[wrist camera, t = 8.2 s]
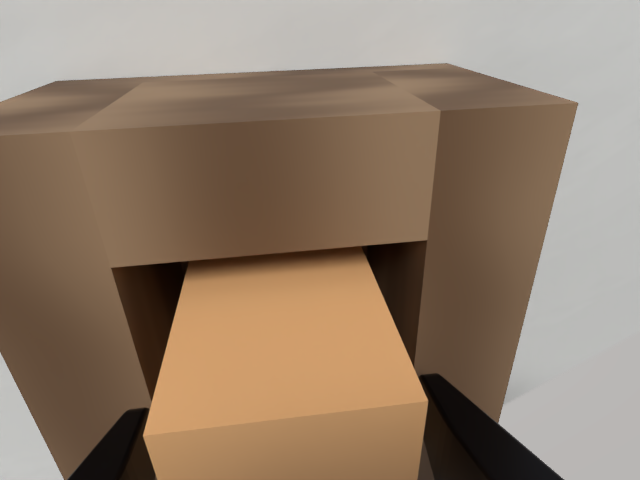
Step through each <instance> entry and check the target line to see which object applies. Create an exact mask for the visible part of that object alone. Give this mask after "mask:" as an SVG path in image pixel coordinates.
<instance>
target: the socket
mask: <svg viewBox="0 0 640 480" xmlns="http://www.w3.org/2000/svg"><path fill="white" fill-rule="evenodd" d="M577 106H578V103H577V102H574V101H570V100H567V99H564V98H560V97H557V96H554V95H550V94H547V93H544V92H540V91H537V90H534V89H530V88H527V87H524V86H520V85H517V84H514V83H511V82H507V81H504V80H501V79H497V78H494V77H491V76H487V75H484V74H481V73H477V72H474V71H471V70H467V69H464V68H461V67H457V66H454V65H451V64H447V63H445V64H423V65H401V66H379V67H357V68H335V69H313V70H291V71H269V72H247V73H225V74H203V75H181V76H159V77H137V78H115V79H93V80H71V81H55V82H53V83H50V84H47V85H45V86H42V87H39V88H37V89H34V90H31V91H29V92H26V93H23V94H21V95H18V96H15V97H13V98H10V99H7V100H5V101H2V102H0V352H1V354H2V356H3V358H4V360H5V362H6V364H7V366H8V368H9V370H10V372H11V374H12V376H13V378H14V380H15V382H16V384H17V386H18V388H19V390H20V392H21V394H22V396H23V398H24V400H25V402H26V404H27V406H28V408H29V410H30V412H31V414H32V416H33V418H34V420H35V422H36V424H37V426H38V428H39V430H40V432H41V434H42V436H43V438H44V440H45V442H46V444H47V446H48V448H49V450H50V452H51V454H52V456H53V458H54V460H55V462H56V464H57V466H58V468H59V470H60V472H61V474H62V476H63V478H64V480H67V479H68V478H69V477H70V475H71V474H72V473H73V472H74V471H75V470H76V468H77V467H78V466H79V465H80V464H81V463H82V461H83V460H84V459H85V458H86V457H87V456H88V454H89V453H90V452H91V451H92V450H93V448H94V447H95V446H96V445H97V444H98V443H99V441H100V440H101V439H102V438H103V437H104V436H105V434H106V433H107V432H108V431H109V430H110V429H111V427H112V426H113V425H114V424H115V423H116V421H117V420H118V419H119V418H120V417H121V416H122V414H123V413H124V412H126V411H127V410H129V409H136V408H144V407H146V408H149V409H150V407H151V403H152V400H153V396H154V392H155V388H156V384H157V381H158V377H159V373H160V369H161V365H162V362H163V358H164V354H165V350H166V347H167V343H168V339H169V335H170V331H171V328H172V324H173V320H174V316H175V312H176V309H177V305H178V301H179V297H180V293H181V290H182V286H183V282H184V278H185V274H186V271H187V267H188V263H189V261H194V260H205V259H217V258H228V257H240V256H251V255H263V254H274V253H286V252H297V251H309V250H320V249H331V248H343V247H354V246H361V247H362V249H363V252H364V254H365V256H366V259H367V261H368V263H369V265H370V268H371V270H372V272H373V275H374V277H375V279H376V282H377V284H378V286H379V289H380V291H381V293H382V295H383V298H384V300H385V302H386V305H387V307H388V309H389V312H390V314H391V316H392V318H393V321H394V323H395V325H396V328H397V330H398V332H399V335H400V337H401V339H402V342H403V344H404V346H405V348H406V351H407V353H408V355H409V358H410V360H411V362H412V365H413V367H414V369H415V372H416V374H417V376H418V377H419V376H420V375H423V374H432V373H438V374H440V375H441V376H443V377H444V378H445V379H446V380H447V381H448V382H450V383H451V384H452V385H453V386H454V387H456V388H457V389H458V390H459V391H460V392H461V393H463V394H464V395H465V396H466V397H467V398H468V399H470V400H471V401H472V402H473V403H474V404H476V405H477V406H478V407H479V408H480V409H481V410H483V411H484V412H485V413H486V414H487V415H488V416H490V417H491V418H492V419H493V420H494V421H496V422H497V423H498V422H499V418H500V414H501V410H502V406H503V402H504V398H505V394H506V390H507V386H508V382H509V378H510V374H511V370H512V366H513V362H514V358H515V354H516V350H517V346H518V342H519V338H520V334H521V330H522V326H523V322H524V318H525V314H526V310H527V306H528V302H529V298H530V294H531V290H532V286H533V282H534V278H535V274H536V270H537V266H538V262H539V258H540V254H541V250H542V246H543V242H544V238H545V234H546V230H547V226H548V222H549V218H550V214H551V210H552V206H553V202H554V198H555V194H556V190H557V186H558V182H559V178H560V174H561V170H562V166H563V162H564V158H565V154H566V150H567V146H568V142H569V138H570V134H571V130H572V126H573V122H574V118H575V114H576V110H577ZM155 480H157V477H156V475H155ZM417 480H435V479H434V476H433V472H432V469H431V465H430V462H429V458H428V454H427V451H426V447H425V443H424V440H423V443H422V450H421V457H420V464H419V471H418V479H417Z"/></svg>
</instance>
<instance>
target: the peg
mask: <svg viewBox="0 0 640 480" xmlns="http://www.w3.org/2000/svg"><path fill="white" fill-rule="evenodd" d="M427 407H428V399H427V397H426V395H425V392H424V390H423V388H422V385H421V383H420V381H419V378H418V376H417V374H416V372H415V369H414V367H413V365H412V362H411V360H410V358H409V355H408V353H407V351H406V348H405V346H404V344H403V342H402V339H401V337H400V335H399V332H398V330H397V328H396V325H395V323H394V321H393V318H392V316H391V314H390V312H389V309H388V307H387V305H386V302H385V300H384V298H383V295H382V293H381V291H380V289H379V286H378V284H377V282H376V279H375V277H374V275H373V272H372V270H371V268H370V265H369V263H368V261H367V259H366V256H365V254H364V252H363V249H362V247H361V246H354V247H343V248H331V249H320V250H309V251H297V252H286V253H274V254H263V255H251V256H240V257H228V258H217V259H205V260H194V261H189V263H188V267H187V271H186V274H185V278H184V282H183V286H182V290H181V293H180V297H179V301H178V305H177V309H176V312H175V316H174V320H173V324H172V328H171V331H170V335H169V339H168V343H167V347H166V350H165V354H164V358H163V362H162V365H161V369H160V373H159V377H158V381H157V384H156V388H155V392H154V396H153V400H152V403H151V407H150V411H149V415H148V419H147V422H146V426H145V430H144V434H143V438H144V441H145V444H146V447H147V450H148V453H149V456H150V459H151V462H152V465H153V468H154V471H155V474H156V477H157V480H417V479H418V471H419V464H420V457H421V450H422V443H423V435H424V428H425V421H426V414H427Z"/></svg>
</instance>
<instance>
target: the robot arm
mask: <svg viewBox="0 0 640 480" xmlns="http://www.w3.org/2000/svg"><path fill="white" fill-rule="evenodd" d="M418 378H419V381H420V383H421V385H422V388H423V390H424V392H425V395H426V397H427V399H428V407H427V414H426V421H425V428H424V435H423V440H424V443H425V447H426V451H427V454H428V458H429V462H430V465H431V469H432V472H433V476H434V479H435V480H564V479H563V478H561V477H560V476H559V475H558V474H557V473H555V472H554V471H553V470H552V469H551V468H550V467H548V466H547V465H546V464H545V463H544V462H543V461H541V460H540V459H539V458H538V457H537V456H535V455H534V454H533V453H532V452H531V451H529V450H528V449H527V448H526V447H525V446H524V445H523V444H521V443H520V442H519V441H518V440H517V439H515V438H514V437H513V436H512V435H511V434H510V433H508V432H507V431H506V430H505V429H504V428H503V427H501V426H500V425H499V424H498V423H497V422H496V421H494V420H493V419H492V418H491V417H490V416H488V415H487V414H486V413H485V412H484V411H483V410H481V409H480V408H479V407H478V406H477V405H476V404H474V403H473V402H472V401H471V400H470V399H468V398H467V397H466V396H465V395H464V394H463V393H461V392H460V391H459V390H458V389H457V388H456V387H454V386H453V385H452V384H451V383H450V382H448V381H447V380H446V379H445V378H444V377H443V376H441V375H440V374H438V373H432V374H423V375H420V376H419V377H418ZM149 411H150V409H149V408H146V407H144V408H136V409H129V410H127V411H126V412H124V413H123V414H122V416H121V417H120V418H119V419H118V420H117V421H116V423H115V424H114V425H113V426H112V427H111V429H110V430H109V431H108V432H107V433H106V434H105V436H104V437H103V438H102V439H101V440H100V441H99V443H98V444H97V445H96V446H95V447H94V448H93V450H92V451H91V452H90V453H89V454H88V456H87V457H86V458H85V459H84V460H83V461H82V463H81V464H80V465H79V466H78V467H77V468H76V470H75V471H74V472H73V473H72V474H71V475H70V477H69V478H68V479H67V480H155V475H156V474H155V471H154V468H153V465H152V462H151V459H150V456H149V453H148V450H147V447H146V444H145V441H144V438H143V434H144V430H145V426H146V422H147V419H148V415H149Z"/></svg>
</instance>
